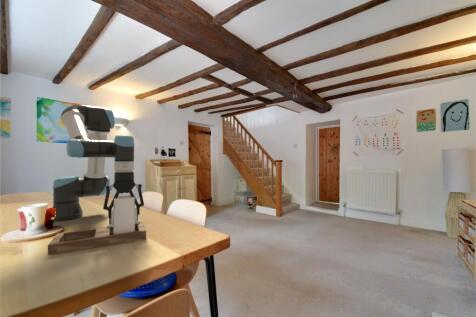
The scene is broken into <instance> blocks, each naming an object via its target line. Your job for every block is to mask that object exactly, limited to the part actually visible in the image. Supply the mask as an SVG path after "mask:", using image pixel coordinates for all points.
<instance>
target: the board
mask: <svg viewBox="0 0 476 317" xmlns="http://www.w3.org/2000/svg"><path fill="white" fill-rule="evenodd" d="M143 240H147V229H146V227H145V224H144V222H143V221H142V222H141V221H140V223H139V224H135V231H134V232H127V233H121V234H114V235H113V227H109V228H107V226H101V227H94V228H87V229H80V230H73V231H71V230H70V231H64V232H57V233H56V234H55V236H54V237H53V238H52V240H51V241H50V242H49V243H48V245H47V256H52V255H59V254H65V253H70V252H77V251H83V250H88V249H94V248H96V249H97V248H100V247H102V248H103V247H106V246H113V245H119V244H126V243H130V242H137V241H138V242H139V241H143Z"/></svg>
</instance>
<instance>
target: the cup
mask: <svg viewBox="0 0 476 317" xmlns="http://www.w3.org/2000/svg"><path fill="white" fill-rule="evenodd" d="M113 198H114V197H113ZM135 198H136V196H135V197H131V195H130V194H129V195H127V194H126V195H124V194H123V195H119V196H118V197H117V199H116V198H114V206H113V208H112V209H113V210H114V220H113V235H114V234H121V233H127V232H134V231H135V207H136V205H135Z"/></svg>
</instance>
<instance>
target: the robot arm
mask: <svg viewBox="0 0 476 317" xmlns="http://www.w3.org/2000/svg"><path fill="white" fill-rule="evenodd" d="M60 119H61V123H62V124H63V126H65V128H66V131H67V134H68V136H69V137H68V138H69V139H67V141H66V155H67V156H68V157H70V158H79V159H80V158H87V168H86V170H87V171H86V172H85V173H84V174H83V177H80V176H79V175H78V174H77V175H66V176H62V177H57V178H55V179H54V180H53V183H52V184H53V185H52V192H53V193H52V202H53V203H52V206H51V209H52V208H56V217H55V218H54V221H53V222H57V221H58V222H59V221H61V222H62V221H69V220H73V219H74V220H76V219H78V218H80V217H83V214H84V212H83V209H82V206H81V204H80V198H87V197H89V198H90V197H99V196H104V195H105V197H104V202H103V206H102V207H103V208H102V210H105V211H107V217H108V218H111V226H113V220H114V210H113V206H114V198H116V199H117V197H118V196H120V194H129V195H131V197H135V223H137V215H138V216H140V210H141V207H144V206H145V203H144V202H145V201H144V198H143V193H142V186H143V185H142V183H135V172H134V170H135V138H134V136H132V135H127V134H126V135H125V134H124V135H123V134H122V135H121V134H120V135H115V136H114V141H113V140H107V138H108V134H110V133H111V130H112V129H114V128H115V123H116V121H115V115H114V112H113V110H112V109H111V108H109V107H108V108H107V107H103V106H94V105H87V104H77V103H76V104H73V105H70V106H67V107H66V108H65V109H63V110H62V112H61V115H60ZM106 158H114V160H113V161H114V168H113V169H114V171H115V172H114V181H113V182H114V183H113V184H111V182H110V180H111V179H110V177H109V176H108V175H107V173H106V172H105V166H106ZM134 187H135V188H136V189H137V193H138V197H139V198H138V199H139V202H140V203H139V202H138V200H137V198H136V196H135V194H134V192H133V189H134ZM113 188H114V189H115V190H116V191H115V194H114V196H113V198H112V200H111V202H110V204H109V205H108V203H109V198H110V194H111V191H112V190H113ZM108 218H107V219H108Z"/></svg>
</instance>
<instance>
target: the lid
mask: <svg viewBox="0 0 476 317" xmlns="http://www.w3.org/2000/svg"><path fill="white" fill-rule="evenodd" d="M139 218H140V217H139V215H137V223H135V224H139V223H140V222H141V221H140V219H139ZM106 227H107V228H109V227H113V226H111V218H107V225H106Z"/></svg>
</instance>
